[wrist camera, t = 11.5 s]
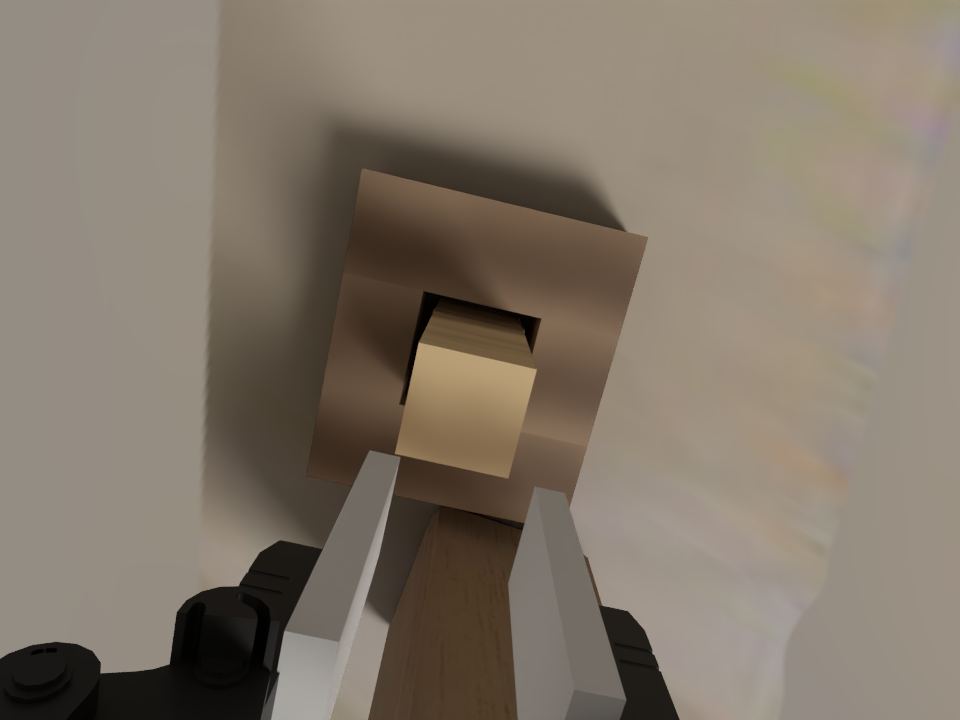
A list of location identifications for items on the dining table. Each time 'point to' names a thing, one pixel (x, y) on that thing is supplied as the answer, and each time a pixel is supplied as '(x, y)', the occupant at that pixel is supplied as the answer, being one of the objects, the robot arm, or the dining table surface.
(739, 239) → the dining table surface
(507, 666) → the block
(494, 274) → the board
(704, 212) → the dining table surface
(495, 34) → the dining table surface
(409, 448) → the peg
